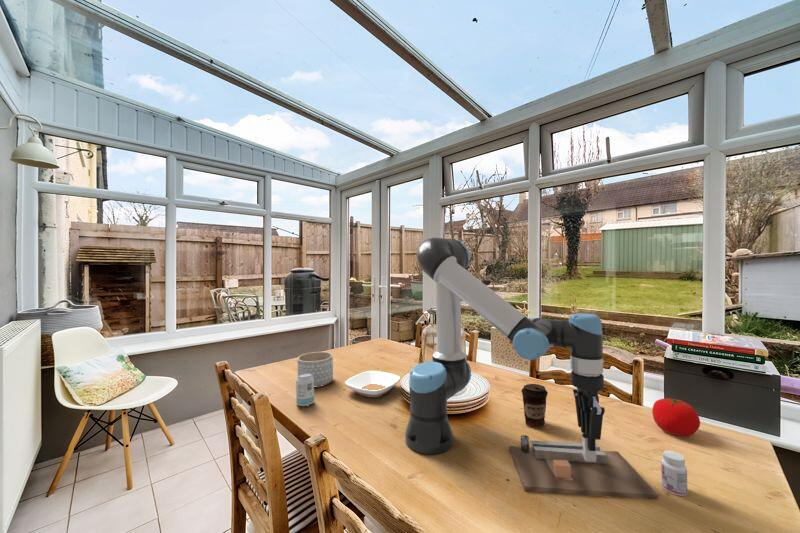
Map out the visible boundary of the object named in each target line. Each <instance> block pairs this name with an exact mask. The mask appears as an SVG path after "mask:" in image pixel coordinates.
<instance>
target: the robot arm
mask: <svg viewBox="0 0 800 533" xmlns="http://www.w3.org/2000/svg"><path fill="white" fill-rule="evenodd" d="M416 260H417V263H418V266H419V267H420V269H421V270H422V271H423V272H424V273H425V274H426V275H427V276H428V277H429V278H430V279H432V281H434V282H435V310H436V311H435V319H436V320H435V321H436V325H435V326H436V329H435V330H436V331H435V332H436V349H435V350H434V351H433V353H432V355H431V356H432V357H431V358H432V361H425V362H421V363H418V364H416V365H414V366H413V367H412V368H411V369H410V372H409V379H408V385H409V413H410V414H409V419H408V423H407V426H406V428H405V429H406V430H405V434H404V435H405V437H404V438H405V444H406V446H407V447H408V448H409V449H410V450H412V451H414V452H415V453H416V452H417V453H418V454H419V453H420V454H424V455H437V454H442V453H445V452H446V451H448V450H450V449H451V448H452V447H453V444H454V433H453V430H452V427H451V423H450V421H449V418H448V410H447V409H448V403H447V401H448V400H449V399H451V398H452V397H454V396H455V395H457V393H459V392H461V391H463V390H464V389H465V388H466V386H468V384H469V383H470V381H471V378H472V368H471V365H470V363H468V360H467V357H466V356H467V355H466V353H464V351H462V308H461V307H462V305H461V304H462V303H461V302H462V301H463V302H464V303H465V304H466V305H468V306H469V307H470V308H471V309H472V310H473V311H475V313H476V312H477V313H478V314H479V316H480V317H482V318H483V319H484V320H485V321H487V322H488V323H489V324H490V325H491V326H492V327H494V328H495V329H496V330H498V332H500V334H502V335H503V336H504V337H505V338H507V339H508V340H509V341H510V342H512V346H513V349H514V351H515V353H516V354H517V355H518V356H519V357H520V358H522V359H524V360H528V361H533V360H537V359H539V358H541V357H543V356H545V355H546V354H547V353H548V351H549V350H550V349H551V348H552V347H556V348H566V349H570V354H569V356H570V358H569V360H570V369H571V371H570V376H571V378H570V381H571V384H572V386H573V387H575V388H574V389H572V392H573V393H572V394H573V397H574V403H575V412H576V419H577V426H578V428H580V431H581V433H582V434H581V436H582V443H583V459H584V460H585V461H590V462H596V444H597V441H600V440H601V437H602V436H601V435H602V428H603V427H602V426H603V421H604V420H603V418H604V415H605V413H606V412H605V411H606V410H605V409H606V408H605V407H603V406H600V397H599V392H601V391H602V390H604V388H605V381H604V380H605V379H604V378H605V377H604V375H603V373H604V363H605V360H604V359H603V358H604V352H603V351H604V348H603V334H604V333H603V327H602V319H601V317H600V316H599V315H597V314H593V313H584V312H581V313H577V312H576V313H571V314H570V315H569V318H568V319H566V320H565V319H563V320H562V319H551V318H540V317H527V316H526V315H525V314H523V313H522V312H521V311H519V310H518V309H517V308H515V306H513V305H512V304H511V303H510V302H508V301H507V300H505V298H503V297H502V296H501V295H499V294H498V293H496V292H495V291H494V290H492V288H490V287H489V286H487V285H486V284H485V283H483V282H482V281H481V280H480V279H478V278H477V277H476V276H474V275H473V274H472V273H471V272H470V271H468V270H467V269H466V268H467V267H468V265H469V264H470V260H471V253H470V251H469V248H468V247H467V246H466V244H465V243H463V242H462V241H461V240H457V239H454V238H446V237H445V238H441V237H430V238H428V239H425V240H424V241H423V242H422V243H421V244H420V245H419V246H418V248H417V253H416Z"/></svg>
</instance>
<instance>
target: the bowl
mask: <svg viewBox="0 0 800 533" xmlns="http://www.w3.org/2000/svg"><path fill="white" fill-rule="evenodd" d="M401 378H402V377H401V376H399V375H397V374H395V373H390V372H385V371H381V370H367V371H363V372H360V373H358V374H356V375H354V376H351V377H349V378H348V379H347V380H345V382H344V384H345V385H346V386H347V387H348V388H350V389H351V390H352V391H354V392H355V393H358V394H357V395H359V394H360V396H362V395H363V396H362V397H365V396H367V398H371V397H377V398H379V396H380V397H382V396H383V394H384V395H386V394H387V393H388V392H389V391H391V389H392V388H394V386H395V385H396V384H397V383H398V382H399V381H400V380H401ZM369 384H377V385H382V386H385V388H383V389H379V390H368V389H362V387H364V386H367V385H369ZM385 393H386V394H385ZM381 395H382V396H381Z"/></svg>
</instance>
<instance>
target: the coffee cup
mask: <svg viewBox="0 0 800 533" xmlns="http://www.w3.org/2000/svg"><path fill="white" fill-rule="evenodd" d="M520 392H521V394H522V402H523V403H522V404H523V413H524V420H525V421H524V423H525V425H526V426H528V427H531V428H534V429H542V428H545V427H546V423H545V422H546V421H545V418H546V408H547V397H548V394H549V393H548V390H547V389H546V387H545V386H544V385H542V384H538V383H528V384H525V385H523V387H522V388H521V391H520Z"/></svg>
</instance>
